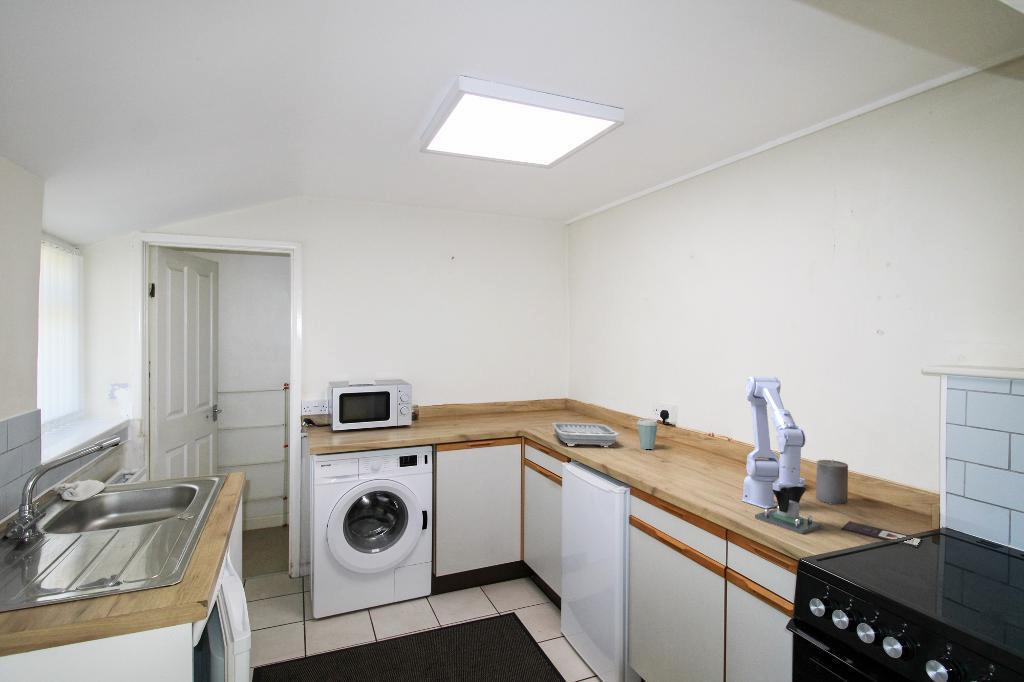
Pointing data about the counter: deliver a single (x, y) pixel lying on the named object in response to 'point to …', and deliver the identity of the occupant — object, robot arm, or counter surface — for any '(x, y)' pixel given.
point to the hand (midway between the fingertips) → (788, 510)
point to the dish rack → (585, 433)
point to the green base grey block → (790, 513)
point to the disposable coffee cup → (647, 432)
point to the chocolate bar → (878, 533)
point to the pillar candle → (832, 481)
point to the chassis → (797, 527)
